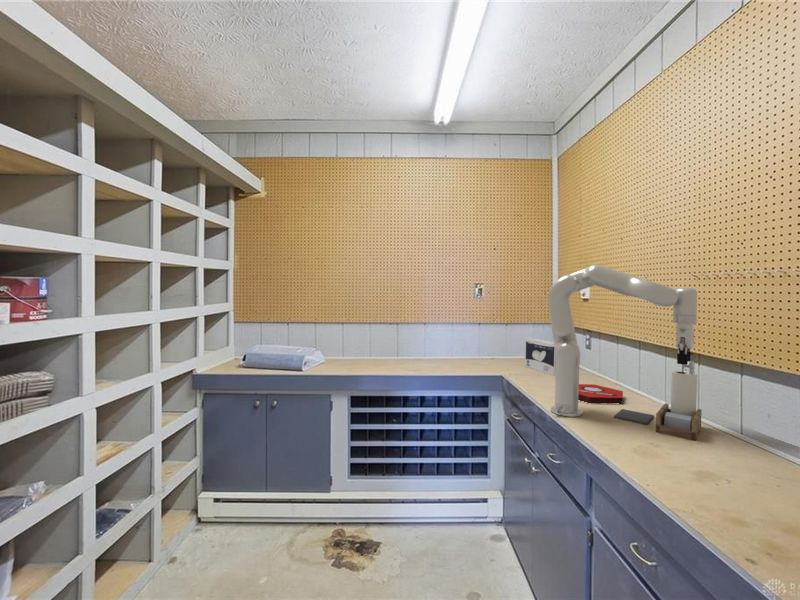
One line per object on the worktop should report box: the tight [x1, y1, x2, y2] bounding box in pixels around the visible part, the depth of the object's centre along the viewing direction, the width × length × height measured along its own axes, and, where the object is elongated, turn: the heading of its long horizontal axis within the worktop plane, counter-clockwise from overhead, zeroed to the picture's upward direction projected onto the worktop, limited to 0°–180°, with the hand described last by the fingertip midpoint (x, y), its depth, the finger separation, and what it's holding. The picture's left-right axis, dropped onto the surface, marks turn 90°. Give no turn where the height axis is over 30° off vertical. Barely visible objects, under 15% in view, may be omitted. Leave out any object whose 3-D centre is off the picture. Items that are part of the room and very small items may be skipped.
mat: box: [613, 408, 655, 426], centre depth 163 cm, size 14×12×1 cm
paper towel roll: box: [670, 370, 698, 419], centre depth 153 cm, size 7×6×21 cm
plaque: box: [578, 383, 624, 405], centre depth 195 cm, size 27×4×30 cm
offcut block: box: [664, 412, 692, 431], centre depth 147 cm, size 6×8×6 cm
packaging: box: [524, 337, 556, 377], centre depth 258 cm, size 30×6×20 cm, turn 18°
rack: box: [655, 402, 702, 442], centre depth 149 cm, size 20×12×7 cm, turn 137°
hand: (683, 362), depth 153 cm, fingers open, 9 cm apart
